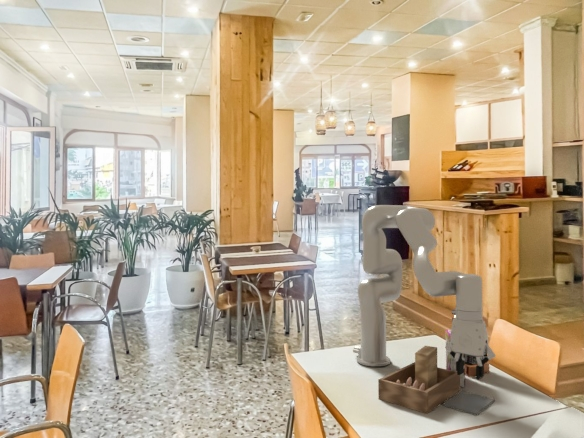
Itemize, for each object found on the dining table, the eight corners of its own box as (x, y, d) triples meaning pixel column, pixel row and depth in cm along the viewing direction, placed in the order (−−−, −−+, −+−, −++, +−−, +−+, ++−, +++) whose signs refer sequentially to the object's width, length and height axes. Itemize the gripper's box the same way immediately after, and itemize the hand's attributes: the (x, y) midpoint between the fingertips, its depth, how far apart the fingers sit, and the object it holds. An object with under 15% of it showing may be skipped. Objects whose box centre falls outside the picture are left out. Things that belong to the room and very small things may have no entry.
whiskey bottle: (470, 378, 159) (470, 286, 159) (448, 370, 168) (448, 282, 168) (491, 373, 164) (490, 284, 164) (469, 366, 172) (468, 281, 172)
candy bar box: (445, 375, 162) (444, 329, 162) (460, 376, 161) (459, 329, 161) (449, 386, 151) (449, 337, 151) (465, 387, 150) (465, 337, 150)
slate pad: (443, 405, 136) (443, 403, 136) (462, 392, 146) (462, 390, 146) (477, 415, 129) (477, 413, 129) (494, 400, 140) (494, 398, 140)
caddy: (378, 398, 142) (378, 379, 142) (414, 379, 158) (414, 362, 158) (426, 413, 131) (426, 392, 131) (460, 391, 147) (460, 372, 147)
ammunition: (390, 395, 144) (409, 391, 148) (407, 404, 137) (426, 398, 141) (390, 380, 144) (409, 376, 148) (407, 388, 137) (426, 383, 141)
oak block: (415, 393, 146) (415, 352, 146) (425, 384, 154) (425, 345, 154) (427, 396, 143) (427, 354, 143) (437, 386, 152) (437, 347, 152)
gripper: (436, 313, 141) (437, 373, 141) (493, 321, 129) (494, 386, 129) (447, 310, 146) (447, 367, 146) (503, 317, 135) (503, 379, 135)
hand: (469, 375), depth 138 cm, fingers open, 5 cm apart
